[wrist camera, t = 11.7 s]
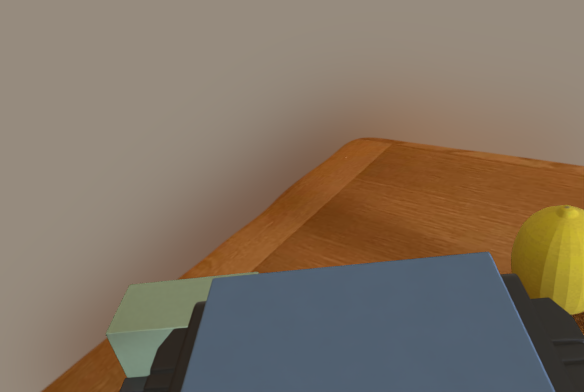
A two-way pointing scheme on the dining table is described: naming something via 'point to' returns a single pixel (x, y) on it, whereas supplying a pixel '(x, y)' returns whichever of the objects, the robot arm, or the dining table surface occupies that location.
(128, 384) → the seat frame
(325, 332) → the blue rectangular block
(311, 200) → the dining table surface
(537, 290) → the lemon
